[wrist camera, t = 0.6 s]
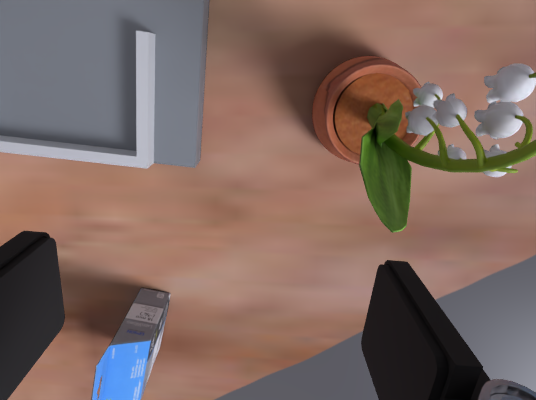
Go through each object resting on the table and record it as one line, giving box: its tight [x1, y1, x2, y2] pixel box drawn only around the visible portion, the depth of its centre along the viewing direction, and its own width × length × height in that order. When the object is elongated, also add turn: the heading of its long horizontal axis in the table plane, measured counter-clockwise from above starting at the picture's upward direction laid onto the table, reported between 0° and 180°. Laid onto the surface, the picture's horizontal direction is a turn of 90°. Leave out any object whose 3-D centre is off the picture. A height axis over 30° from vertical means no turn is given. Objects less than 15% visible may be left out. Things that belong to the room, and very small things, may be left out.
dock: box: [0, 0, 209, 168], centre depth 33 cm, size 16×24×5 cm, turn 83°
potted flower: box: [312, 56, 536, 233], centre depth 25 cm, size 12×10×25 cm
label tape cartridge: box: [91, 288, 170, 400], centre depth 40 cm, size 9×4×12 cm, turn 165°
